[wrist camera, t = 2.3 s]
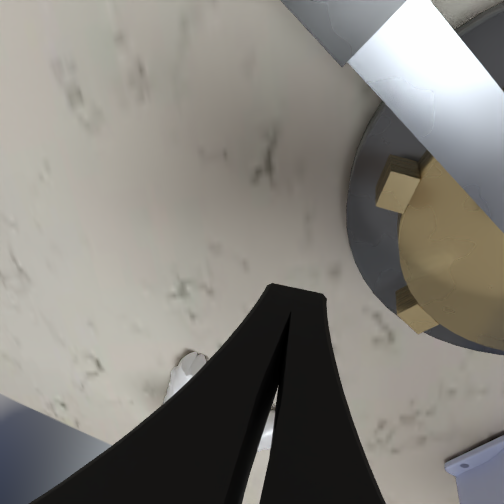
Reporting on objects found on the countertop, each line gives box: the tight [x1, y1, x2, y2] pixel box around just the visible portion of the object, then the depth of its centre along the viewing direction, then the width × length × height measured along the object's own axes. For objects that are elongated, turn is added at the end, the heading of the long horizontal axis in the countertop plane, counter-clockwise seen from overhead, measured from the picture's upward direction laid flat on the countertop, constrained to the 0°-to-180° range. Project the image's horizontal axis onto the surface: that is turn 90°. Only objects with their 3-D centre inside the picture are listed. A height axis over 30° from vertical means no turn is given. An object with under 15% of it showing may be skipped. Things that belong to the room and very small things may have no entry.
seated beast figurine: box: [163, 352, 275, 452], centre depth 26 cm, size 10×9×12 cm
